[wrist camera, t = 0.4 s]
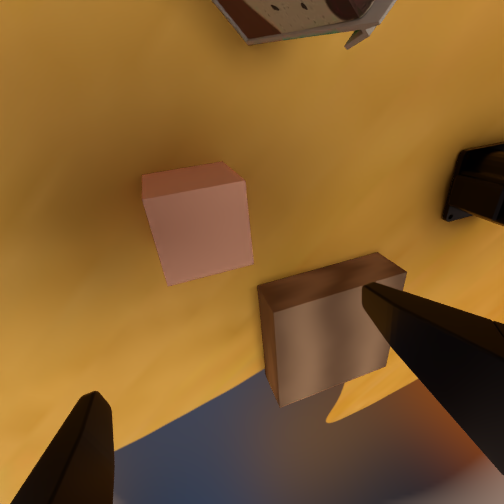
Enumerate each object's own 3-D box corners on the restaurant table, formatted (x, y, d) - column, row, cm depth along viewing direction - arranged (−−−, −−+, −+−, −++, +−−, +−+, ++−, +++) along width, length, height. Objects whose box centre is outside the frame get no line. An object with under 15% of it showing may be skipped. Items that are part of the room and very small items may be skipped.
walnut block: (374, 250, 27) (406, 271, 24) (361, 339, 33) (385, 366, 30) (255, 283, 24) (273, 312, 21) (264, 373, 30) (280, 407, 27)
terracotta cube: (222, 161, 18) (245, 180, 14) (231, 230, 21) (253, 264, 17) (141, 174, 17) (142, 199, 13) (162, 246, 20) (167, 286, 16)
